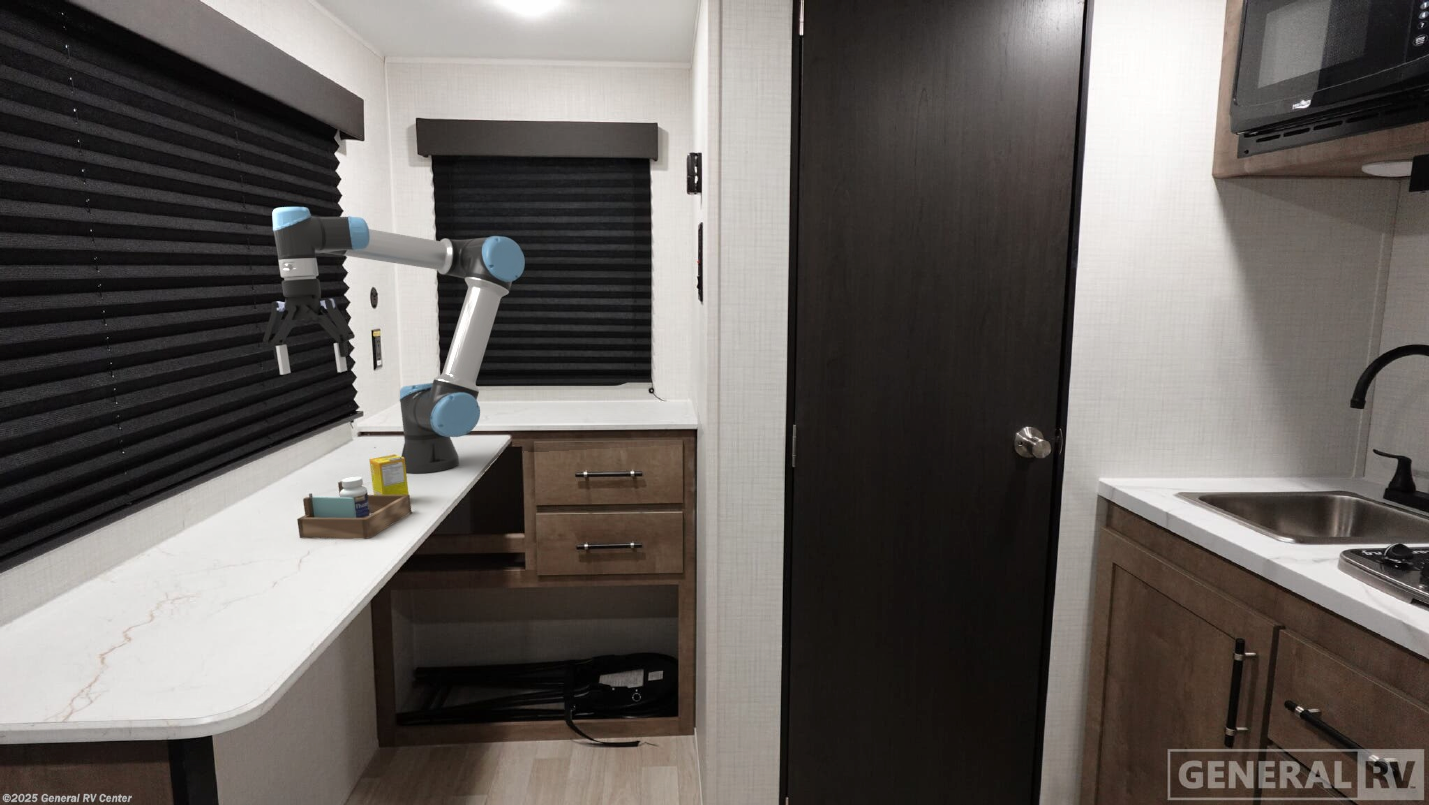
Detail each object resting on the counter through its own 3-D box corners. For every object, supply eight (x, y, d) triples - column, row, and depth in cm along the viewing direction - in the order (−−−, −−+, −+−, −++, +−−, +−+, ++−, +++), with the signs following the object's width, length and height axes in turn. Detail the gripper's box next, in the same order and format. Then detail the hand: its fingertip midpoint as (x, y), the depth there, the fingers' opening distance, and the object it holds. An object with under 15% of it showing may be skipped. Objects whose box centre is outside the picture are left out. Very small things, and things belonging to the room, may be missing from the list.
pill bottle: (360, 527, 163) (354, 482, 162) (337, 526, 165) (332, 482, 163) (376, 519, 169) (371, 475, 167) (354, 518, 170) (349, 475, 168)
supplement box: (399, 498, 184) (394, 453, 182) (410, 503, 180) (405, 457, 178) (373, 504, 180) (368, 458, 178) (384, 509, 175) (379, 462, 174)
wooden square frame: (348, 511, 175) (344, 477, 173) (411, 512, 173) (407, 477, 171) (299, 538, 158) (294, 500, 157) (368, 538, 156) (364, 500, 155)
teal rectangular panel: (357, 530, 161) (353, 497, 159) (355, 531, 160) (351, 498, 159) (318, 529, 162) (314, 496, 161) (316, 530, 162) (311, 497, 161)
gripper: (235, 281, 171) (251, 377, 175) (344, 276, 169) (357, 372, 173) (257, 280, 178) (272, 372, 182) (362, 275, 177) (374, 367, 181)
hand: (313, 372), depth 178 cm, fingers open, 13 cm apart
